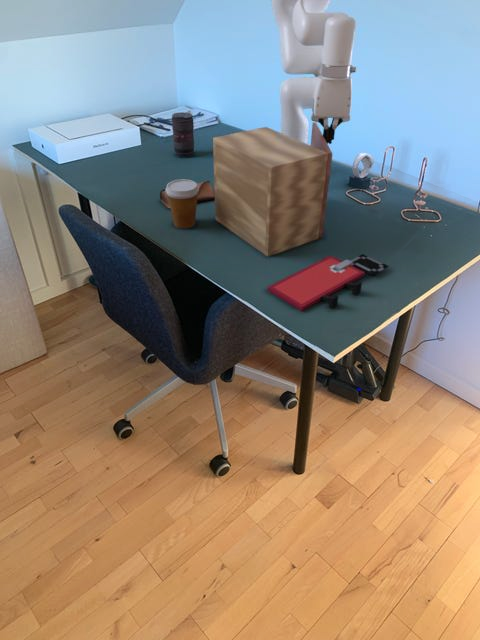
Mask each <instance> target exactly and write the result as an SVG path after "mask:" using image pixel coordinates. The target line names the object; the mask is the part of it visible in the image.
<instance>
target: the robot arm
mask: <svg viewBox="0 0 480 640" xmlns="http://www.w3.org/2000/svg"><path fill="white" fill-rule="evenodd" d="M330 3H331V0H271V6H272V12H273V16H274V19H275V22H276V24H277V28H278V32H279V33H278V34H279V44H280V45H279V46H280V57H281V66H282V69H283V71H284V73H286V75H292V76H293V75H314V76H296V77H294V76H293V77H289V78H286V79H285V80H284V81H282V82H281V84H280V86H279V100H280V101H279V102H280V133H282V134H284V135H286V136H289V137H291V138H294V139H296V140H298V141H301V142H303V143H305V144H308V138H309V128H310V126H309V125H310V124H309V119H308V118H307V115H306V114H305V113H304V111H303V110H308V109H311V112H312V113H311V116H310V120H311V121H312V122H314V123H315V122H316V123H319V124H320V125H321V126H322V128H323V131H322V135H323V137H324V139H325V140H326V142H327V144H328V145H332V143H333V141H334V140H335V133H336V129H337V128H338V127H339V126H340V125H341V124H342V123H346V122H347V123H348V122H349V121H350V120H351V110H352V101H353V100H352V99H353V96H352V95H353V79H352V76H351V74H353V73H356V71H357V66H353V65H352V58H353V51H354V50H353V49H354V44H355V43H354V41H355V36H356V35H355V34H356V26H357V25H356V20H355V18H354V17H352V16H351V17H350V16H349V15H348V14H347V13H345V12H328V11H327V12H325V11H326V10H327V9H328V7H329V5H330ZM329 119H331V122H330V125H329Z"/></svg>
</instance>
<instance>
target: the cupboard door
mask: <svg viewBox="0 0 480 640" xmlns="http://www.w3.org/2000/svg"><path fill="white" fill-rule="evenodd" d="M311 125H312V126H311V134H310V136H311V137H310V146H312V147H315V148H317V149H319V150H322V151H324V152H327V153H328V159H327V167H326V176H325V185H324V194H323V203H322V211H321V220H320V229H319V238H318V239H321V238H323V236H324V226H325V218H326V208H327V203H328V202H327V201H328V193H329V184H330V180H331V179H330V178H331V172H332V171H331V170H332V162H333V152H332V150H331V148H330V146H329V143H328V144H327V142H326V140H325V139H324V137H323V132H321V129H320V127H319V125H318V124H317V122H315V121H314V122H312V124H311Z"/></svg>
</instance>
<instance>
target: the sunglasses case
mask: <svg viewBox="0 0 480 640" xmlns="http://www.w3.org/2000/svg"><path fill="white" fill-rule="evenodd" d="M197 186H198V187H199V191H198V194H197V204H198V203H205V202H208V201H212V200H215V189H214V188H213V186H212V185H211V181H210V180H206V181H205V180H204V181H203V182H198V183H197ZM165 189H166V188H163V189H161V191H160V192H159V198H160V202H161V203H162V204H163V205H164V206H165V207H166V208H168V209H170V210H171V208H170V204H169V199H168V195H167V193H166V191H165Z"/></svg>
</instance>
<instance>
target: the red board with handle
mask: <svg viewBox="0 0 480 640" xmlns="http://www.w3.org/2000/svg"><path fill="white" fill-rule="evenodd" d="M387 268H389V265H387V264H385V263H383V262H381V261H378V260H377V259H375V258H372V257H370V256H368V255H366V254H364V253H362V254H360V255H358V256H356V257H355V258H352V259H350V260H349V259H345V260H341V259H338V258H337V257H335V256H333V255H329V256H326V257H325V258H324V257H323V259H321V260H319V261H316V262H315V263H313V264H310V265H309V266H307V267H305V268H303V269H300V270H299V271H297V272H295V273H292V274H291V275H288V276H287V277H284V278H283V279H280V280H279V281H277V282H275V283H273V284H271V285H269V286H267V291H268V292H269V293H271V294H273V295H274V296H276V297H278V298H280V299H281V300H283V301H284V302H286V303H287V304H289V305H291V306H292V307H294V308H296V309H297V310H298V311H301V312H303V311H304V310H306V309H307V308H309V307H312V306H313V305H315V304H316V303H318V302H321V301H324V302H327V303H328V308H329V309H331V310H332V309H335V308H336V307H338V303H339V295H337V294H335V293H336V292H338V291H340V290H341V289H343V288H348V289H352V292H351V294H352V295H353V296H357V295H358V294H360V293H361V290H362V284H363V283H362V281H360V278H362V277H364V276H365V275H366V274H365V273H367V274H369V275H371V276H375V275H376V274H378V273H380V272H382V271H383V270H385V269H387ZM357 280H358V281H357ZM355 281H356V282H355ZM332 294H333V295H332ZM331 295H332V296H331Z"/></svg>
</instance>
